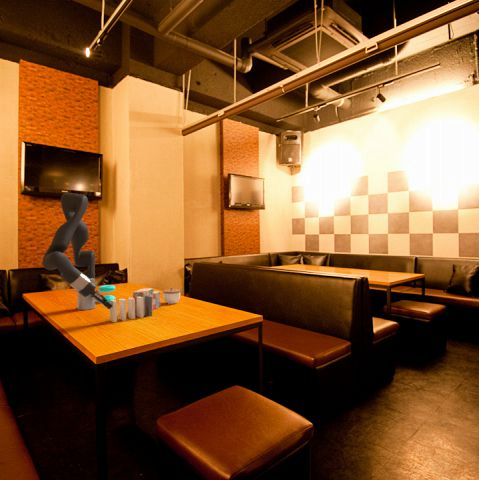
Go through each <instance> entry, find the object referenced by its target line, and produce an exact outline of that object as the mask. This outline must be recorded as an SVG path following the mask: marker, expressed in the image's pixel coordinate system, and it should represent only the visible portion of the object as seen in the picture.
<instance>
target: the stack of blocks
mask: <svg viewBox="0 0 479 480" xmlns="http://www.w3.org/2000/svg"><path fill="white" fill-rule="evenodd" d="M147 295H148V296H152V312H153V311H154V310H156V309H158V308H160V307H161V291H159V290H154V288H149V287H148V288H145V287H144V288H140V289H138V290H134V291H133V292H132V298H134V299H135V316H137V297H139V296H140V297H143V298H144V316H146V315H145V296H147Z"/></svg>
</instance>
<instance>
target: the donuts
mask: <svg viewBox="0 0 479 480" xmlns="http://www.w3.org/2000/svg"><path fill="white" fill-rule="evenodd" d="M115 290H116V286H115V285H114V284H113V285H112V284H106V285H100V286H99V287H98V291H99V292H100V293H110V292H111V293H112V292H113V291H115ZM103 296H104V298H105V299H107V302H109V303H110V300H115V301H116V296H114V295H111V294H109V295H103Z"/></svg>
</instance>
